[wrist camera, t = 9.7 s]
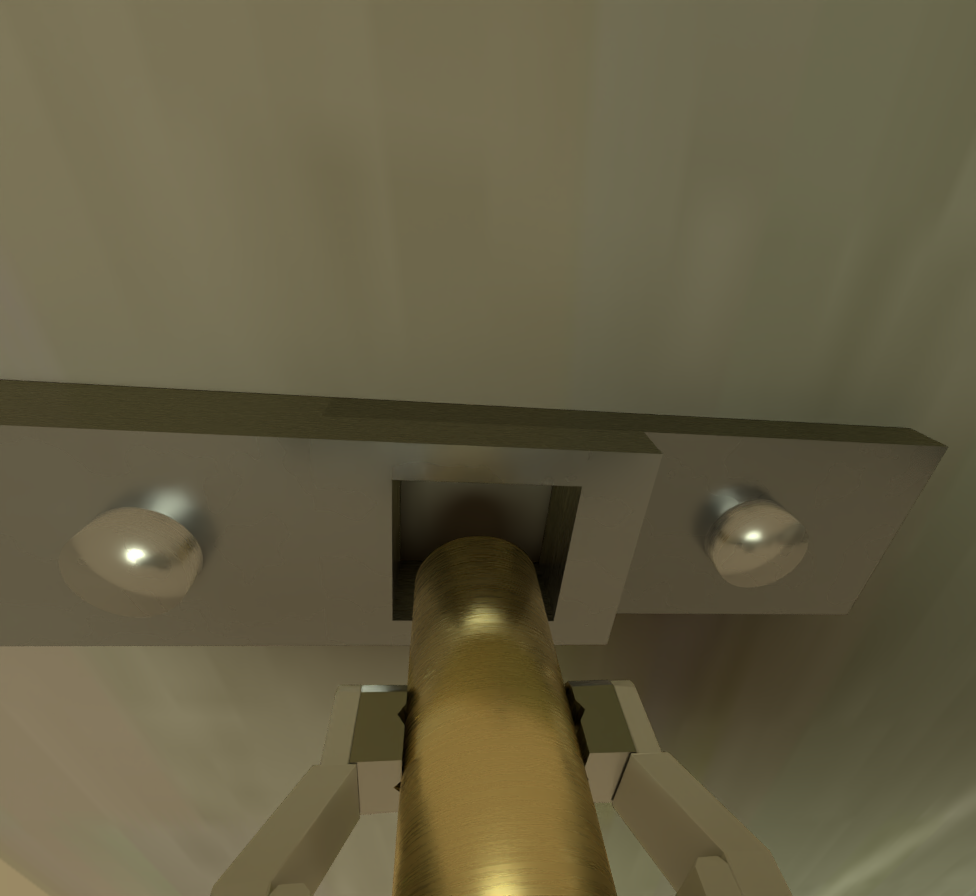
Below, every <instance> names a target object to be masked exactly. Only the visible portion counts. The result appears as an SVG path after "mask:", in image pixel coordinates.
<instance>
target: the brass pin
mask: <svg viewBox="0 0 976 896" xmlns="http://www.w3.org/2000/svg"><path fill="white" fill-rule="evenodd" d="M392 896H617V893H616V889H615V885H614V881H613V877H612V873H611V869H610V865H609V861H608V858H607V854H606V850H605V846H604V842H603V838H602V834H601V830H600V826H599V822H598V818H597V814H596V810H595V806H594V802H593V798H592V794H591V790H590V786H589V782H588V778H587V774H586V770H585V766H584V762H583V758H582V754H581V750H580V746H579V742H578V738H577V734H576V730H575V726H574V722H573V718H572V714H571V710H570V706H569V703H568V699H567V695H566V691H565V687H564V683H563V679H562V675H561V671H560V667H559V663H558V659H557V655H556V651H555V647H554V643H553V639H552V635H551V631H550V627H549V623H548V619H547V615H546V611H545V607H544V603H543V599H542V595H541V591H540V587H539V583H538V579H537V575H536V571H535V568H534V565H533V563H532V561H531V560H530V558H529V557H528V556H527V554H526V553H525V552H524V551H523V550H521V549H520V548H519V547H517V546H516V545H514V544H512V543H510V542H508V541H505V540H503V539H499V538H495V537H488V536H471V537H464V538H460V539H456V540H453V541H450V542H448V543H446V544H444V545H442V546H440V547H439V548H437V549H436V550H434V551H433V552H432V553H431V554H430V555H429V556H428V557H427V558H426V559H425V560H424V561H423V563H422V564H421V566H420V567H419V569H418V572H417V575H416V579H415V589H414V602H413V616H412V630H411V643H410V657H409V671H408V699H407V715H406V722H405V743H404V756H403V770H402V778H401V782H400V794H399V808H398V822H397V836H396V849H395V863H394V877H393V891H392Z"/></svg>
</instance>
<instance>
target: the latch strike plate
mask: <svg viewBox="0 0 976 896" xmlns="http://www.w3.org/2000/svg"><path fill="white" fill-rule="evenodd" d="M947 448H948V446H946V445H943V444H941V443H939V442H937V441H935V440H933V439H931V438H929V437H927V436H925V435H923V434H921V433H919V432H917V431H915V430H913V429H911V428H893V427H874V426H856V425H837V424H818V423H799V422H781V421H762V420H743V419H724V418H706V417H687V416H668V415H649V414H631V413H612V412H593V411H574V410H556V409H537V408H518V407H499V406H481V405H462V404H443V403H424V402H406V401H387V400H368V399H350V398H331V397H312V396H293V395H275V394H256V393H237V392H218V391H200V390H181V389H162V388H143V387H125V386H106V385H87V384H68V383H50V382H31V381H12V380H0V646H286V645H410V643H411V630H412V616H413V602H414V589H415V579H416V575H417V572H418V569H419V567H420V566H421V564H422V563H423V561H400V502H401V480H413V481H441V482H470V483H498V484H526V485H553V488H552V493H551V499H550V504H549V510H548V516H547V521H546V527H545V533H544V538H543V544H542V549H541V555H540V561H539V563H533V565H534V568H535V571H536V575H537V579H538V583H539V587H540V591H541V595H542V599H543V603H544V607H545V611H546V615H547V619H548V623H549V627H550V631H551V635H552V639H553V643H554V645H607V643H608V639H609V636H610V633H611V629H612V626H613V622H614V619H615V616H616V613H634V614H834V615H847V614H848V613H849V611H850V609H851V608H852V606H853V604H854V603H855V601H856V599H857V598H858V596H859V594H860V593H861V591H862V589H863V588H864V586H865V584H866V583H867V581H868V579H869V578H870V576H871V574H872V573H873V571H874V569H875V568H876V566H877V565H878V563H879V561H880V560H881V558H882V556H883V555H884V553H885V551H886V550H887V548H888V546H889V545H890V543H891V541H892V540H893V538H894V536H895V535H896V533H897V531H898V530H899V528H900V526H901V525H902V523H903V521H904V520H905V518H906V516H907V515H908V513H909V511H910V510H911V508H912V506H913V505H914V503H915V502H916V500H917V498H918V497H919V495H920V493H921V492H922V490H923V488H924V487H925V485H926V483H927V482H928V480H929V478H930V477H931V475H932V473H933V472H934V470H935V468H936V467H937V465H938V463H939V462H940V460H941V458H942V457H943V455H944V453H945V452H946V450H947Z"/></svg>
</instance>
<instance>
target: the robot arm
mask: <svg viewBox="0 0 976 896" xmlns="http://www.w3.org/2000/svg"><path fill="white" fill-rule="evenodd" d="M565 691H566V695H567V699H568V703H569V706H570V710H571V714H572V718H573V722H574V726H575V730H576V734H577V738H578V742H579V746H580V750H581V754H582V758H583V762H584V766H585V770H586V774H587V778H588V782H589V786H590V790H591V794H592V798H593V802H594V803H600V802H612V806H613V807H614V808H615V810H616V811H617V813H618V814H619V815H620V817H621V818H622V819H623V821H624V822H625V823H626V825H627V826H628V827H629V829H630V830H631V831H632V833H633V834H634V835H635V837H636V838H637V839H638V841H639V842H640V843H641V845H642V846H643V848H644V849H645V850H646V852H647V853H648V854H649V856H650V857H651V858H652V860H653V861H654V862H655V864H656V865H657V866H658V868H659V869H660V870H661V872H662V873H663V874H664V876H665V877H666V879H667V880H668V881H669V883H670V884H671V885H672V887H673V888H674V889H675V891H676V892H677V894H676V896H792V894H791V892H790V890H789V888H788V886H787V884H786V882H785V880H784V878H783V876H782V874H781V872H780V870H779V868H778V866H777V864H776V862H775V860H774V858H773V856H772V854H771V852H770V850H769V849H768V848H767V847H765V846H764V845H763V844H762V843H761V842H760V841H759V840H758V839H757V838H756V837H755V836H754V835H753V834H752V833H751V832H750V831H749V830H748V829H747V828H746V827H745V826H744V825H743V824H742V823H741V822H740V821H739V820H738V819H737V818H736V817H735V816H734V815H732V814H731V813H730V812H729V811H728V810H727V809H726V808H725V807H724V806H723V805H722V804H721V803H720V802H719V801H718V800H717V799H716V798H715V797H714V796H713V795H712V794H711V793H710V792H709V791H708V790H707V789H706V788H705V787H704V786H703V785H702V784H701V783H699V782H698V781H697V780H696V779H695V778H694V777H693V776H692V775H691V774H690V773H689V772H688V771H687V770H686V769H685V768H684V767H683V766H682V765H681V764H680V763H679V762H678V761H677V760H676V759H675V758H674V757H673V756H672V755H671V754H670V753H669V752H662V751H661V749H660V746H659V744H658V742H657V739H656V737H655V734H654V732H653V729H652V727H651V724H650V722H649V719H648V717H647V714H646V712H645V709H644V707H643V704H642V702H641V700H640V697H639V695H638V692H637V690H636V687H635V685H634V684H633V683H632V681H630V680H614V681H608V680H592V681H568V682H567V683H566V684H565ZM407 699H408V685H339V687H338V689H337V691H336V694H335V698H334V703H333V708H332V712H331V717H330V721H329V726H328V730H327V735H326V740H325V744H324V749H323V753H322V758H321V762H320V765H313V766H312V767H311V768H310V769H309V770H308V772H307V773H306V774H305V775H304V776H303V778H302V779H301V780H300V781H299V783H298V784H297V785H296V786H295V787H294V789H293V790H292V791H291V792H290V793H289V795H288V796H287V797H286V798H285V800H284V801H283V802H282V803H281V804H280V806H279V807H278V808H277V809H276V810H275V812H274V813H273V814H272V815H271V817H270V818H269V819H268V820H267V821H266V823H265V824H264V825H263V826H262V828H261V829H260V830H259V831H258V832H257V834H256V835H255V836H254V837H253V838H252V840H251V841H250V842H249V843H248V845H247V846H246V847H245V848H244V849H243V851H242V852H241V853H240V854H239V855H238V857H237V858H236V859H235V860H234V862H233V863H232V864H231V865H230V866H229V868H228V869H227V870H226V871H225V872H224V874H223V875H222V876H221V877H220V879H219V880H218V881H217V882H216V883H215V885H214V886H213V889H212V892H211V895H210V896H313V895H314V893H315V891H316V890H317V888H318V886H319V885H320V883H321V881H322V880H323V878H324V876H325V875H326V873H327V872H328V870H329V868H330V867H331V865H332V863H333V862H334V860H335V858H336V857H337V855H338V853H339V852H340V850H341V848H342V847H343V845H344V843H345V842H346V840H347V838H348V837H349V835H350V833H351V832H352V830H353V828H354V827H355V825H356V824H357V822H358V820H359V819H360V815H364V814H376V813H389V812H398V808H399V794H400V782H401V778H402V770H403V756H404V743H405V722H406V715H407Z"/></svg>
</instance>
